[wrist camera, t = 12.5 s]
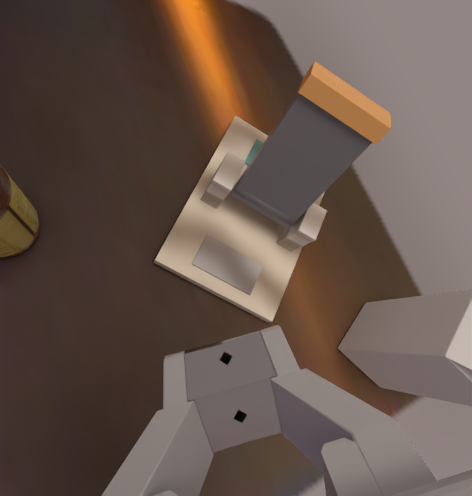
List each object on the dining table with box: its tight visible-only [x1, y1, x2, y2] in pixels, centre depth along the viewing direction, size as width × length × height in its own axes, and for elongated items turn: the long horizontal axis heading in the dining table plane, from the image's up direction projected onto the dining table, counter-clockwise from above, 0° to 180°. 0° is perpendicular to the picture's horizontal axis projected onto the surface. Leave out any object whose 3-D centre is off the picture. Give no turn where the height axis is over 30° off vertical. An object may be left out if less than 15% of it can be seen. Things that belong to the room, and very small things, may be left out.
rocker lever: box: [231, 61, 391, 229], centre depth 33 cm, size 3×7×14 cm, turn 65°
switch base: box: [153, 116, 327, 322], centre depth 39 cm, size 20×14×7 cm
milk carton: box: [338, 290, 472, 406], centre depth 35 cm, size 7×7×19 cm
